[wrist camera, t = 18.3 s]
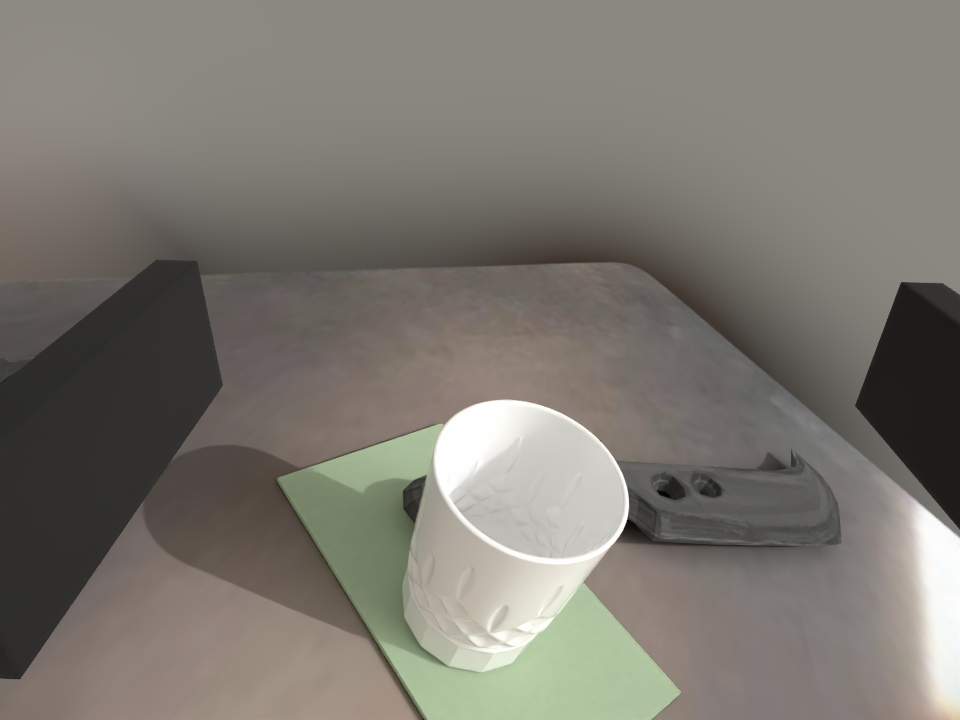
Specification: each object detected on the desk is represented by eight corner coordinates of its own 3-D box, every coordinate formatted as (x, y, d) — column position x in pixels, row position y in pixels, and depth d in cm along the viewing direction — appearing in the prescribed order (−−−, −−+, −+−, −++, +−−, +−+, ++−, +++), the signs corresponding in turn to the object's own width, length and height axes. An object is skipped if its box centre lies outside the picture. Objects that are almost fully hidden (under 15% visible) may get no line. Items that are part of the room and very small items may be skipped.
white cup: (527, 717, 28) (616, 598, 22) (360, 643, 29) (401, 507, 22) (561, 568, 34) (638, 443, 28) (423, 510, 35) (468, 374, 28)
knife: (397, 405, 39) (809, 438, 47) (391, 432, 40) (793, 460, 48) (410, 522, 32) (889, 536, 40) (402, 551, 33) (868, 558, 41)
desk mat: (276, 481, 35) (276, 477, 35) (440, 426, 42) (441, 422, 42) (504, 849, 24) (506, 846, 24) (678, 695, 31) (681, 692, 31)
